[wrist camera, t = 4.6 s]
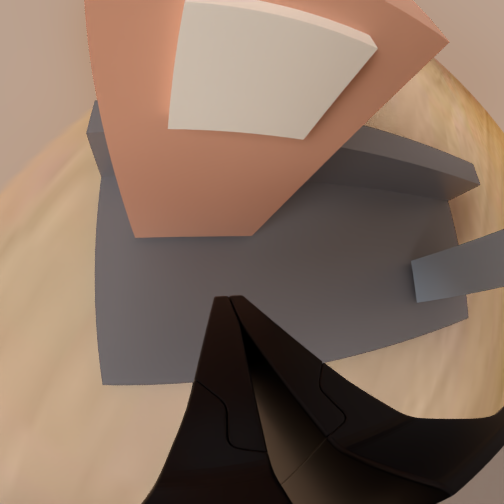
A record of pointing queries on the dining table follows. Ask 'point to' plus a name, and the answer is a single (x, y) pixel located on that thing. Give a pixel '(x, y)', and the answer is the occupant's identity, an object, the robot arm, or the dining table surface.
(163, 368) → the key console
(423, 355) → the dining table surface
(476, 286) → the slate key
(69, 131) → the dining table surface
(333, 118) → the terracotta key
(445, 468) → the robot arm
